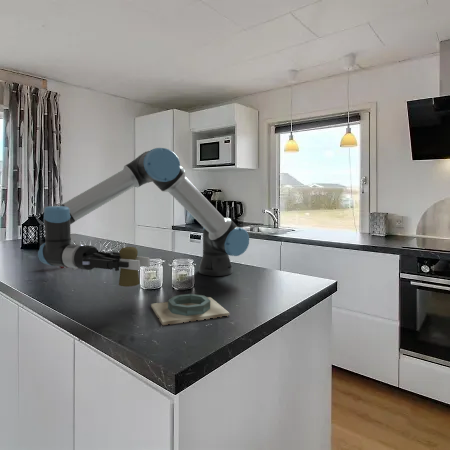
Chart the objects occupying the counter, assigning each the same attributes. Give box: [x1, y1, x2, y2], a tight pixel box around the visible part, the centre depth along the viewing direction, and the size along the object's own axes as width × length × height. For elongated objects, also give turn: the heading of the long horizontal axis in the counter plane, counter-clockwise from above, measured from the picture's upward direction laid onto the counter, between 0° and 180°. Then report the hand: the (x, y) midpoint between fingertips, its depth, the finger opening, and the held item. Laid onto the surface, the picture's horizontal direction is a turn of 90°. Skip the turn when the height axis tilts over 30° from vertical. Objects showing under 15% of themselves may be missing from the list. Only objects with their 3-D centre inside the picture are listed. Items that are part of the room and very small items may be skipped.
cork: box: [118, 246, 140, 287], centre depth 102 cm, size 6×6×11 cm
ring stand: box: [150, 293, 231, 326], centre depth 105 cm, size 20×16×4 cm
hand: (144, 263), depth 100 cm, fingers closed on cork, 4 cm apart
